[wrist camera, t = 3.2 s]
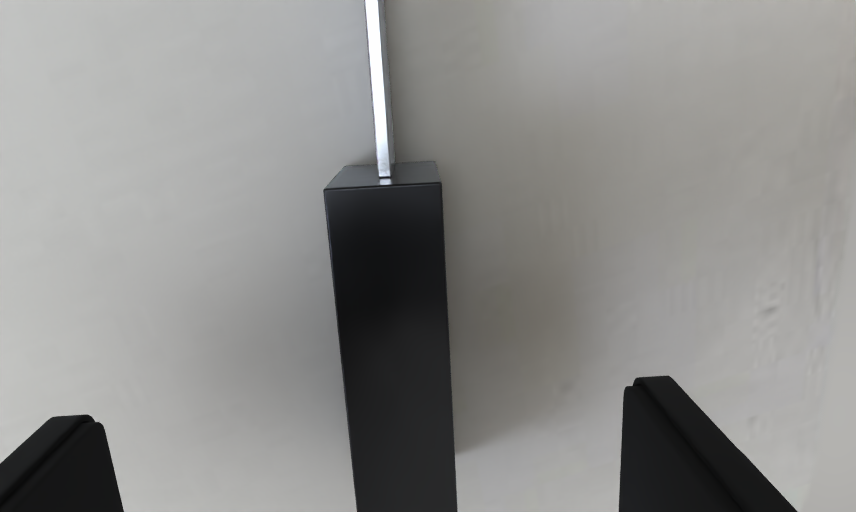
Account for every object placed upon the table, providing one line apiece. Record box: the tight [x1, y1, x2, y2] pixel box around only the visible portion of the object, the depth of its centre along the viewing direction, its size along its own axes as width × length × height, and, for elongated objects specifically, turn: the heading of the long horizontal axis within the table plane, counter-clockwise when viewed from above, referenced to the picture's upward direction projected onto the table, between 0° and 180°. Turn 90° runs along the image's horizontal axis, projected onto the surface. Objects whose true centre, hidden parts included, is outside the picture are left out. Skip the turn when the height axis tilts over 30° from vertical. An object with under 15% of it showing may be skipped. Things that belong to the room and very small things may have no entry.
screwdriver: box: [323, 0, 457, 512], centre depth 13 cm, size 19×2×4 cm, turn 3°
